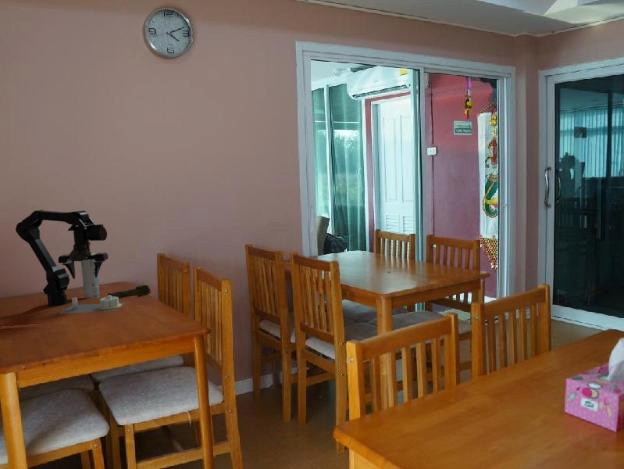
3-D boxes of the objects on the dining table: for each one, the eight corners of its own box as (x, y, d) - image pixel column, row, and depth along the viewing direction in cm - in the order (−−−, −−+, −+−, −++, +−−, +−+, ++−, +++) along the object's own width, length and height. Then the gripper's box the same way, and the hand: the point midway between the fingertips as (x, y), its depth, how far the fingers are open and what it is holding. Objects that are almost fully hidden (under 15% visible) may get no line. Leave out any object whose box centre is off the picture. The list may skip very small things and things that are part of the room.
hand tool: (110, 302, 244) (109, 292, 243) (107, 301, 247) (106, 290, 246) (152, 295, 255) (152, 285, 255) (149, 293, 258) (148, 283, 258)
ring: (98, 308, 227) (97, 300, 226) (104, 304, 233) (103, 297, 233) (115, 307, 227) (114, 300, 226) (120, 303, 233) (120, 296, 233)
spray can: (96, 299, 251) (92, 254, 248) (82, 300, 251) (77, 255, 248) (102, 296, 257) (98, 252, 255) (87, 296, 257) (83, 253, 255)
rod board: (58, 316, 223) (57, 301, 222) (72, 307, 237) (71, 293, 236) (116, 313, 223) (114, 298, 223) (126, 304, 237) (125, 290, 237)
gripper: (50, 245, 227) (54, 283, 228) (97, 242, 227) (101, 280, 229) (62, 241, 238) (65, 278, 240) (106, 239, 238) (110, 275, 240)
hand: (85, 278), depth 237 cm, fingers open, 9 cm apart
